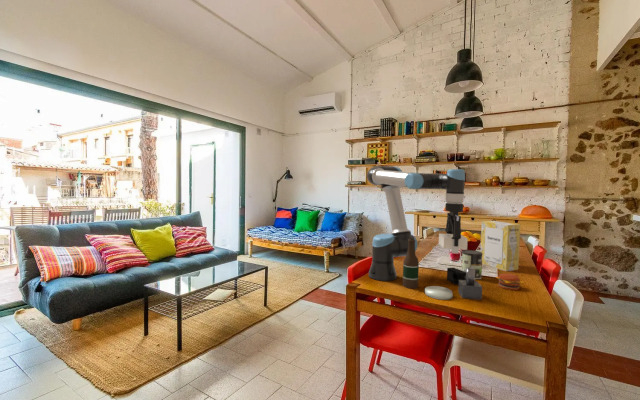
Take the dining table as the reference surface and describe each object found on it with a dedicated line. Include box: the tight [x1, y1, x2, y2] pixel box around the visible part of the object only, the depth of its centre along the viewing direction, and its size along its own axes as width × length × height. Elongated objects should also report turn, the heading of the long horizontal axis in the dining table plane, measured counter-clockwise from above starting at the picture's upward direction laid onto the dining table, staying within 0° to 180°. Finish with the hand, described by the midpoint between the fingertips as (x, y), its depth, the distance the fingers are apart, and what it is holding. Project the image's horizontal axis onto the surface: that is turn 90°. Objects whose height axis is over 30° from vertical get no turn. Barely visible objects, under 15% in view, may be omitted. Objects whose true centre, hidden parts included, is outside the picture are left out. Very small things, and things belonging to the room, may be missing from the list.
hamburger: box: [495, 273, 524, 291], centre depth 150 cm, size 9×10×7 cm
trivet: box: [424, 285, 454, 301], centre depth 138 cm, size 12×12×2 cm
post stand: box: [457, 267, 483, 301], centre depth 137 cm, size 8×8×13 cm
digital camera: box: [446, 267, 466, 287], centre depth 155 cm, size 10×5×7 cm, turn 16°
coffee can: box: [461, 249, 483, 280], centre depth 166 cm, size 10×10×14 cm
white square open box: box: [438, 233, 469, 251], centre depth 137 cm, size 10×10×5 cm
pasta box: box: [480, 220, 521, 272], centre depth 187 cm, size 18×10×28 cm, turn 20°
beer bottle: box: [402, 239, 420, 289], centre depth 149 cm, size 8×8×24 cm
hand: (451, 250), depth 137 cm, fingers closed on white square open box, 10 cm apart
